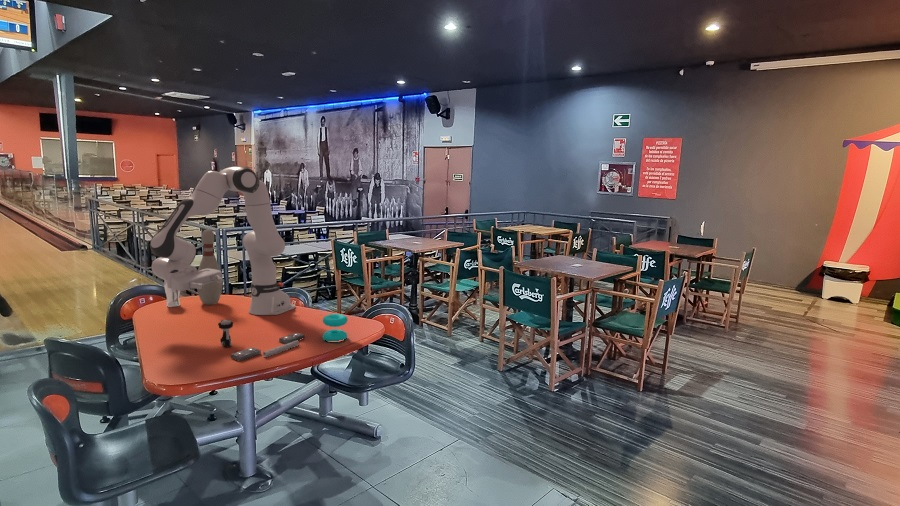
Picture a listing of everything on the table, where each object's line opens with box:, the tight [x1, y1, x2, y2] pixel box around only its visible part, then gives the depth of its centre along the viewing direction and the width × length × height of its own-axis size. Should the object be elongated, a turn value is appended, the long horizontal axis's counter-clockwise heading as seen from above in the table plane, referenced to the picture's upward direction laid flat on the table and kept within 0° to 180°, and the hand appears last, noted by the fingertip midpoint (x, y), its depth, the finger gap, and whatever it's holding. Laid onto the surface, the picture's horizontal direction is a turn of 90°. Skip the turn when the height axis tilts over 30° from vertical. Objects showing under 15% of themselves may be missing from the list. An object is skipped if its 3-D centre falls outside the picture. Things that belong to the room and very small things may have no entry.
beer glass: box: [163, 280, 181, 308], centre depth 237 cm, size 7×7×15 cm
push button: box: [217, 319, 234, 348], centre depth 187 cm, size 7×5×10 cm
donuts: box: [322, 313, 348, 342], centre depth 199 cm, size 10×10×10 cm
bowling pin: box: [196, 228, 224, 306], centre depth 241 cm, size 11×12×38 cm
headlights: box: [230, 332, 306, 362], centre depth 186 cm, size 31×9×2 cm, turn 150°
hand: (212, 283), depth 192 cm, fingers open, 8 cm apart
